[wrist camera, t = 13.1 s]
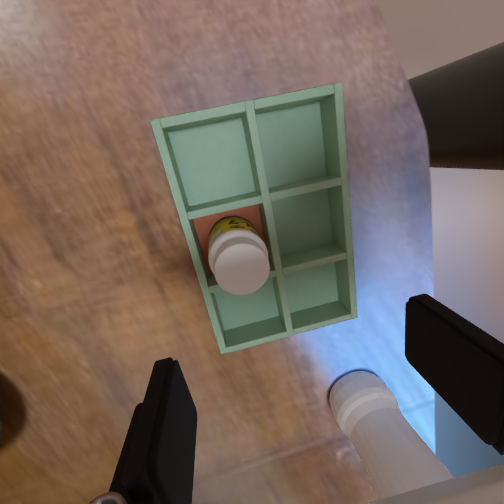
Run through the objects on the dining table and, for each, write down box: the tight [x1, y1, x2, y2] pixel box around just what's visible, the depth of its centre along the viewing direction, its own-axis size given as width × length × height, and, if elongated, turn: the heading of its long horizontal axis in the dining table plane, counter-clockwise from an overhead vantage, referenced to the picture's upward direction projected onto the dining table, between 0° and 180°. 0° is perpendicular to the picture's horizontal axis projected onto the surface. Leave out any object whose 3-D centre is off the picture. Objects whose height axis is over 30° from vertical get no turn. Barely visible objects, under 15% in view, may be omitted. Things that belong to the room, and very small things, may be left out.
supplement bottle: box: [208, 216, 270, 295], centre depth 23 cm, size 5×5×8 cm
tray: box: [150, 82, 357, 354], centre depth 26 cm, size 15×22×4 cm
